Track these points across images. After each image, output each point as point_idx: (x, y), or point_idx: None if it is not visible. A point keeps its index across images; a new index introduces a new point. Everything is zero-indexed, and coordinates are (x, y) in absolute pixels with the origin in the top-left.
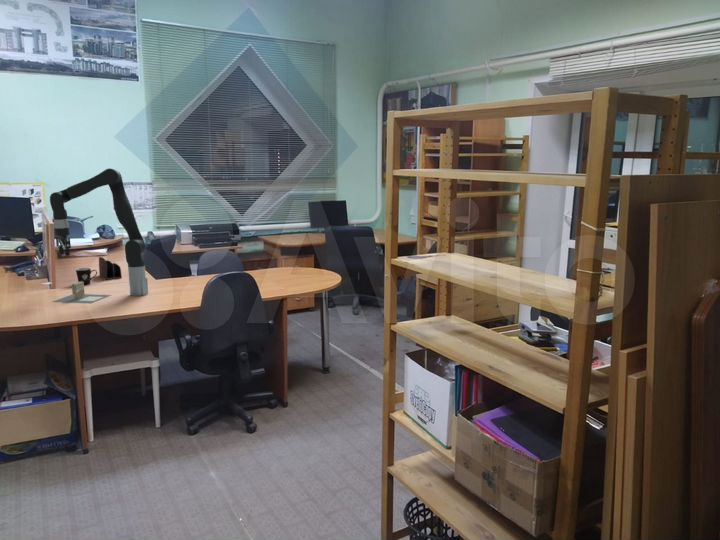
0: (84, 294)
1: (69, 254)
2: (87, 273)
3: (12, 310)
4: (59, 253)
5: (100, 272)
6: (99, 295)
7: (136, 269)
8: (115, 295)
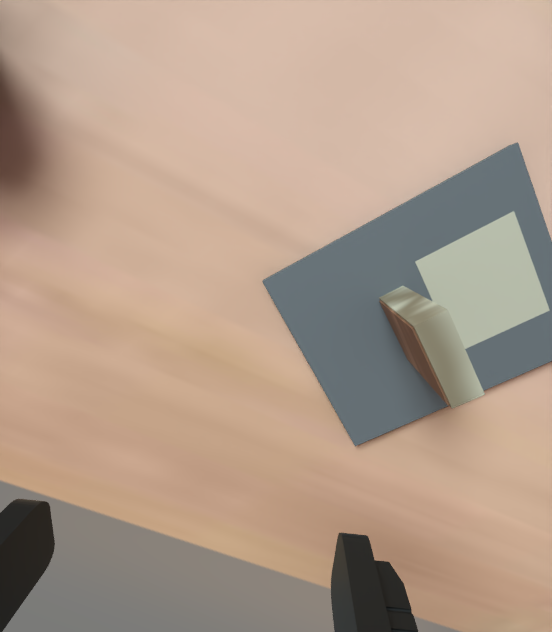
0: (409, 290)
1: (370, 552)
2: None
3: None
4: (26, 576)
5: None
6: (447, 205)
7: None
8: (494, 105)
